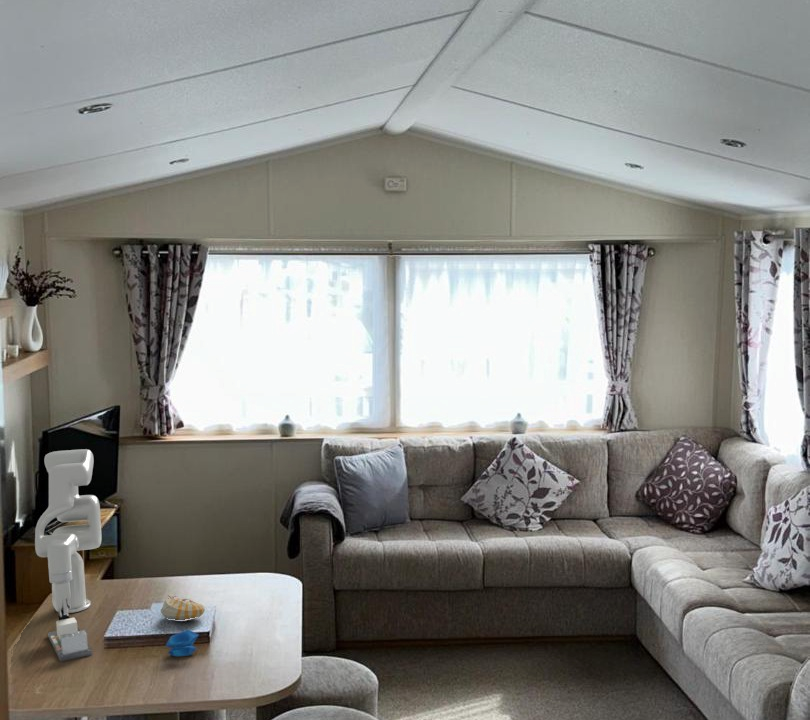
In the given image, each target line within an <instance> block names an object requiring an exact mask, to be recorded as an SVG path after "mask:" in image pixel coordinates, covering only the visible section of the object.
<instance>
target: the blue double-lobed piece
mask: <svg viewBox="0 0 810 720" xmlns="http://www.w3.org/2000/svg"><path fill="white" fill-rule="evenodd" d="M199 635H200V634H199V633H197V632H195V631H193V630H191V629H185V630H183V631H181V632H178V633H175V634H173V635H171V636H170V637H169V639H168V640H167V642H166V645H165V647H167V648H171V649H170V650H168V651H167V654H168V655H171V656H172V657H187V656H188V657H189V656H191V655H192V654H193V653H194V652H195V651H196V650H197V647H195V646H193V645H194V643H195V641H196V640H197V638H198V637H199Z"/></svg>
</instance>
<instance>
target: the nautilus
mask: <svg viewBox="0 0 810 720" xmlns="http://www.w3.org/2000/svg"><path fill="white" fill-rule="evenodd" d="M167 597H169V598H167V599H166V600H165V601H164V603H163V605H162V607H161V608H160V613H161V615H162V616H163V617H164V618H165V619H166V618H168V619H175V620H185V619H190V618H195V617H198V618H200V617H201V616H202V615H203V614H204V613H205V607H204V605H203V604H201V603H199V602H195V601H193V600H191V599H189V598H185V599H184V598H182V599H180V598H178V596H175V595H174V596H170V595H169V594H168V595H167ZM195 619H196V618H195Z"/></svg>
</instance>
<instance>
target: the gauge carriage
mask: <svg viewBox="0 0 810 720" xmlns="http://www.w3.org/2000/svg"><path fill="white" fill-rule="evenodd" d="M77 621H78V620H76V618H75V617H69V619H64V620H59V619H58V620H56V621H55V624H56V631H57V635H58V636H56V637H52V639H55V638H59V639H60V635H64V634H69V633H73V632H78V628H79V627H78V622H77Z"/></svg>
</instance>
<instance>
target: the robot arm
mask: <svg viewBox="0 0 810 720" xmlns="http://www.w3.org/2000/svg"><path fill="white" fill-rule="evenodd" d="M43 461H44V466H45V468H46V472H47V473H48V506H47V508H46V510H45V511H44V512H43V513H42V515H40V517H39V519H38V520H37V523H36V526H35V530H34V531H35V533H34V534H35V535H34V537H35V538H34V548H35V550H34V551H35V553H36V555H37V556H38V557H39V558H47V565H48V566H47V567H48V578H49V583H50V584H51V592H52V593H51V595H52V598H51V599H52V600H51V601H52V602H51V603H52V606H53V608H54V609H55V611H56V612H57V613H58V621H59V620H64V619H69V618H70V615H69V614H71V613H73V614H74V613H77V612H82V611H84V610H87V609H88V608H90V607H91V605H92V603H91V600H89V599H88V598H87V595H86V593H87V592H86V583H85V581H86V577H85V566H84V565H85V564H84V560H83V558H82V556H81V555H80V553H78V552H79V551H86V550H87V551H88V550H93V549H94V550H95V549H97V548H100V546H101V544H102V523H101V522H102V521H101V519H102V518H101V505H100V500H99V498H98V497H97V496H96V495H94V494H84V495H83V494H82V495H80V494H79V487H81V486H88V485H89V484H90V483H91V481H92V476H93V469H94V461H95V460H94V454H93V452H92V451H91V450H90V449H87V448H85V449H82V448H81V449H71V450H68V449H67V450H57V451H55V450H54V451H52V452H51V451H50V452H49V453H47V454H45V456H44V460H43ZM54 519H57V521H59V522H61V523H72V522H74V523H75V522H82V521H84V522H85V521H86V522H88V523H87V524H86V523H85V524H84V523H83V524H73V525H65V526H60V527H57V528H56V529H55V530H53V532H52V534H50V535H48V534H47V535H45V529H46V527H47V525H49V523H50V522H51V521H53V520H54Z"/></svg>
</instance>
